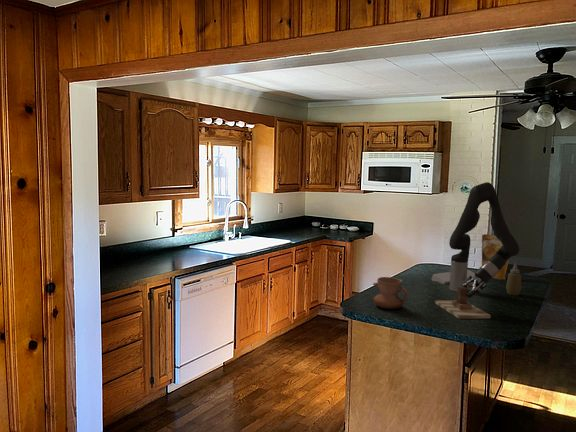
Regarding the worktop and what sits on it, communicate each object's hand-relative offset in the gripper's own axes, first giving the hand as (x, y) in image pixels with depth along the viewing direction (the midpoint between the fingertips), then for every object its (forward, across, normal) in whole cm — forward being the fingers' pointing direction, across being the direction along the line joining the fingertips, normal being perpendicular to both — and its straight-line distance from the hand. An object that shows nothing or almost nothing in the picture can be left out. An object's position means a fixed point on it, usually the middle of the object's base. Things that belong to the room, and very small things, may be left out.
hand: (463, 294), depth 245 cm
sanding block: (+5, 0, +4) cm, 7 cm away
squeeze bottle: (-27, -29, +39) cm, 55 cm away
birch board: (+6, 0, +5) cm, 8 cm away
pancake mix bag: (-36, -72, +48) cm, 93 cm away
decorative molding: (-14, -65, +27) cm, 72 cm away
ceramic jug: (+31, -6, -20) cm, 38 cm away
